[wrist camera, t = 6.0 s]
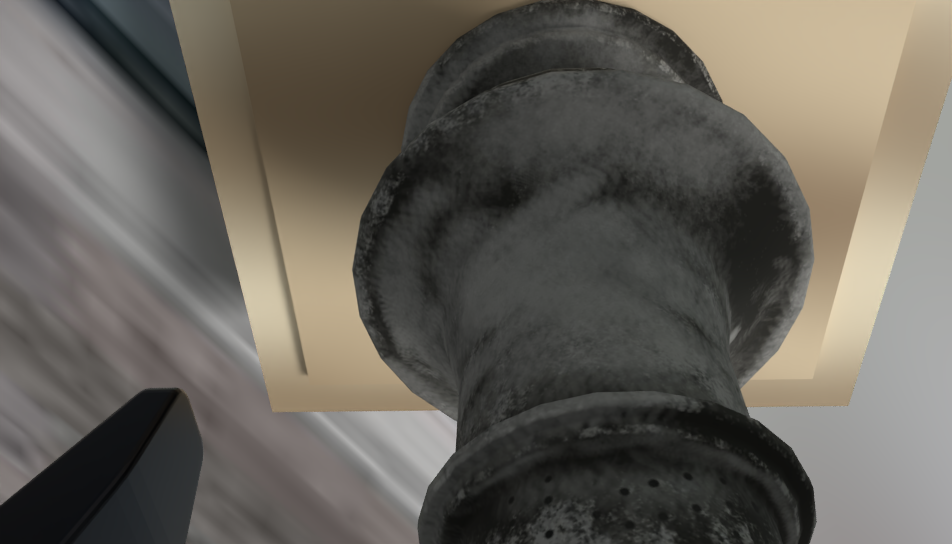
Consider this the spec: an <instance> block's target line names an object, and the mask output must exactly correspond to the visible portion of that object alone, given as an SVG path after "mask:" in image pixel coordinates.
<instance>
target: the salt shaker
mask: <svg viewBox="0 0 952 544" xmlns="http://www.w3.org/2000/svg"><path fill="white" fill-rule="evenodd" d="M813 264H814V249H813V238H812V227H811V217H810V208H809V206H808V204H807V202H806V200H805V198H804V196H803V193H802V191H801V189H800V187H799V185H798V183H797V181H796V178H795V176H794V174H793V172H792V170H791V168H790V166H789V164H788V161H787V160H786V158H785V156H784V155H783V154H782V153H781V152H780V151H779V150H778V149H777V148H776V147H775V146H774V145H773V144H772V143H771V142H770V141H769V140H768V139H767V138H766V137H765V136H764V135H763V134H762V133H761V132H760V131H759V129H758V128H757V127H756V126H755V125H754V124H753V123H752V122H751V121H750V120H749V119H748V118H747V117H746V116H745V115H744V114H742V113H740V112H738V111H736V110H734V109H733V108H731V107H729V106H727V105H725V104H723V101H722V99H721V97H720V95H719V93H718V91H717V89H716V87H715V85H714V83H713V81H712V79H711V77H710V75H709V72H708V70H707V68H706V66H705V64H704V63H703V61H702V60H701V59H700V58H699V57H698V56H697V55H696V54H695V53H694V52H693V51H692V50H691V49H690V47H689V46H688V45H687V44H686V43H685V42H684V41H683V40H682V39H681V38H680V37H679V36H678V35H677V34H676V33H675V32H674V31H673V30H671V29H669V28H667V27H666V26H664V25H662V24H660V23H658V22H657V21H655V20H653V19H651V18H650V17H648V16H646V15H644V14H642V13H641V12H639V11H637V10H635V9H632V8H628V7H623V6H619V5H615V4H610V3H606V2H602V1H598V0H541V1H538V2H535V3H531V4H528V5H525V6H522V7H518V8H515V9H512V10H508V11H505V12H502V13H499V14H496V15H494V16H493V17H491V18H489V19H488V20H486V21H485V22H483V23H481V24H480V25H478V26H477V27H475V28H473V29H472V30H470V31H469V32H467V33H465V34H464V35H462V36H460V37H459V38H457V39H456V40H455V42H454V43H453V44H452V45H451V46H450V47H449V48H448V49H447V50H446V51H445V52H444V53H443V54H442V56H441V57H440V58H439V59H438V60H437V61H436V62H435V63H434V64H433V65H432V66H431V67H430V68H429V70H428V71H427V73H426V75H425V77H424V79H423V81H422V83H421V84H420V86H419V88H418V90H417V92H416V94H415V96H414V98H413V100H412V102H411V104H410V106H409V109H408V114H407V120H406V125H405V130H404V136H403V141H402V146H401V153H400V154H399V155H398V156H397V157H396V158H395V159H394V160H393V161H392V162H391V163H390V164H389V165H388V166H387V167H386V169H385V171H384V173H383V175H382V177H381V179H380V181H379V183H378V185H377V187H376V188H375V190H374V192H373V194H372V196H371V198H370V200H369V202H368V204H367V206H366V208H365V210H364V212H363V214H362V216H361V219H360V224H359V231H358V237H357V243H356V249H355V255H354V261H353V267H352V272H353V279H354V285H355V291H356V297H357V304H358V310H359V316H360V318H361V320H362V322H363V324H364V326H365V328H366V330H367V332H368V334H369V336H370V338H371V340H372V342H373V344H374V346H375V348H376V350H377V352H378V354H379V356H380V358H381V359H382V360H383V361H384V362H385V363H386V364H387V366H388V367H389V368H390V369H391V370H392V371H393V372H394V373H395V374H396V375H397V376H398V377H399V379H400V380H401V381H402V382H403V383H404V384H405V385H406V386H407V387H408V388H409V389H410V390H411V392H412V393H414V394H416V395H417V396H419V397H420V398H422V399H423V400H425V401H426V402H428V403H429V404H431V405H432V406H434V407H435V408H437V409H438V410H440V411H441V412H443V413H444V414H446V415H447V416H449V417H451V418H452V419H454V420H456V421H457V438H456V452H455V453H454V454H453V455H452V456H451V457H450V459H449V460H448V461H447V463H446V464H445V465H444V467H443V468H442V469H441V470H440V472H439V473H438V474H437V476H436V477H435V478H434V480H433V481H432V482H431V484H430V485H429V486H428V489H427V493H426V496H425V499H424V503H423V506H422V509H421V513H420V516H419V519H418V535H419V543H420V544H809V543H810V540H811V537H812V534H813V531H814V528H815V525H816V522H817V521H816V511H815V501H814V491H813V486H812V484H811V481H810V479H809V477H808V476H807V474H806V472H805V470H804V469H803V467H802V465H801V464H800V462H799V460H798V459H797V457H796V455H795V453H794V452H793V450H792V448H791V447H790V446H788V445H787V444H786V443H785V442H783V441H782V440H781V439H779V437H777V436H776V435H775V434H773V433H772V432H771V431H770V430H769V429H767V428H766V427H765V426H764V425H763V424H761V423H760V422H759V421H757V420H755V419H753V418H750V416H749V413H748V410H747V407H746V405H745V402H744V399H743V396H742V393H741V390H740V389H741V388H742V387H743V386H744V385H745V384H746V383H747V382H748V381H749V380H750V379H751V378H752V377H753V376H754V375H755V374H756V373H757V372H758V371H759V370H760V369H761V368H762V367H763V366H764V365H765V364H766V363H767V362H768V361H769V359H770V358H771V357H772V356H773V355H774V354H775V353H776V352H777V351H778V350H779V348H780V346H781V345H782V343H783V341H784V340H785V338H786V336H787V334H788V333H789V331H790V329H791V328H792V326H793V324H794V322H795V321H796V319H797V317H798V315H799V314H800V312H801V310H802V309H803V306H804V301H805V297H806V293H807V289H808V285H809V280H810V276H811V272H812V268H813Z"/></svg>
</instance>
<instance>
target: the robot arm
mask: <svg viewBox="0 0 952 544" xmlns="http://www.w3.org/2000/svg"><path fill="white" fill-rule="evenodd" d="M202 461H203V442H202V438H201V435H200V432H199V429H198V426H197V422H196V419H195V416H194V413H193V410H192V407H191V404H190V401H189V398H188V396H187V394H186V393H185V392H184V391H183V390H182V389H179V388H148V389H144V390H142V391H141V392H139V393H138V394H136V395H135V396H134V397H133V398H132V399H130V400H129V401H128V402H127V403H125V404H124V405H123V406H122V407H121V408H119V409H118V410H117V411H116V412H114V413H113V414H112V415H111V416H109V417H108V418H107V419H106V420H105V421H103V422H102V423H101V424H100V425H98V426H97V427H96V428H95V429H94V430H92V431H91V432H90V433H89V434H87V435H86V436H85V437H84V438H83V439H81V440H80V441H79V442H78V443H76V444H75V445H74V446H73V447H71V448H70V449H69V450H68V451H67V452H65V453H64V454H63V455H62V456H60V457H59V458H58V459H57V460H56V461H54V462H53V463H52V464H51V465H49V466H48V467H47V468H46V469H45V470H43V471H42V472H41V473H40V474H38V475H37V476H36V477H35V478H33V479H32V480H31V481H30V482H29V483H27V484H26V485H25V486H24V487H22V488H21V489H20V490H19V491H18V492H16V493H15V494H14V495H13V496H11V497H10V498H9V499H8V500H7V501H5V502H4V503H3V504H2V505H0V544H186V539H187V534H188V529H189V524H190V519H191V515H192V510H193V505H194V500H195V495H196V490H197V486H198V481H199V476H200V471H201V466H202Z"/></svg>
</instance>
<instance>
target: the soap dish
mask: <svg viewBox="0 0 952 544" xmlns="http://www.w3.org/2000/svg"><path fill="white" fill-rule="evenodd" d="M538 1H541V0H169V2H170V6H171V10H172V14H173V18H174V22H175V26H176V30H177V34H178V38H179V42H180V46H181V50H182V54H183V58H184V62H185V66H186V70H187V73H188V77H189V81H190V85H191V89H192V93H193V97H194V101H195V105H196V109H197V113H198V117H199V121H200V125H201V129H202V133H203V137H204V141H205V145H206V149H207V153H208V157H209V161H210V165H211V169H212V173H213V177H214V181H215V185H216V189H217V193H218V197H219V201H220V205H221V209H222V213H223V217H224V221H225V225H226V229H227V233H228V237H229V241H230V245H231V249H232V253H233V257H234V261H235V265H236V269H237V272H238V276H239V280H240V284H241V288H242V292H243V296H244V300H245V304H246V308H247V312H248V316H249V320H250V324H251V328H252V332H253V336H254V340H255V344H256V348H257V352H258V356H259V360H260V364H261V368H262V372H263V376H264V380H265V384H266V388H267V392H268V396H269V400H270V404H271V408H272V412H328V411H420V410H438V409H437V408H435V407H434V406H432V405H431V404H429V403H428V402H426V401H425V400H423V399H422V398H420V397H419V396H417V395H416V394H414V393H412V392H411V390H410V389H409V388H408V387H407V386H406V385H405V384H404V383H403V382H402V381H401V380H400V379H399V377H398V376H397V375H396V374H395V373H394V372H393V371H392V370H391V369H390V368H389V367H388V366H387V364H386V363H385V362H384V361H383V360H382V359H381V358H380V356H379V354H378V352H377V350H376V348H375V346H374V344H373V342H372V340H371V338H370V336H369V334H368V332H367V330H366V328H365V326H364V324H363V322H362V320H361V318H360V316H359V310H358V304H357V297H356V291H355V285H354V279H353V272H352V267H353V261H354V255H355V249H356V243H357V237H358V231H359V224H360V219H361V216H362V214H363V212H364V210H365V208H366V206H367V204H368V202H369V200H370V198H371V196H372V194H373V192H374V190H375V188H376V187H377V185H378V183H379V181H380V179H381V177H382V175H383V173H384V171H385V169H386V167H387V166H388V165H389V164H390V163H391V162H392V161H393V160H394V159H395V158H396V157H397V156H398V155H399V154H400V153H401V146H402V141H403V136H404V130H405V125H406V120H407V114H408V109H409V106H410V104H411V102H412V100H413V98H414V96H415V94H416V92H417V90H418V88H419V86H420V84H421V83H422V81H423V79H424V77H425V75H426V73H427V71H428V70H429V68H430V67H431V66H432V65H433V64H434V63H435V62H436V61H437V60H438V59H439V58H440V57H441V56H442V54H443V53H444V52H445V51H446V50H447V49H448V48H449V47H450V46H451V45H452V44H453V43H454V42H455V40H456V39H457V38H459V37H460V36H462V35H464V34H465V33H467V32H469V31H470V30H472V29H473V28H475V27H477V26H478V25H480V24H481V23H483V22H485V21H486V20H488V19H489V18H491V17H493V16H494V15H496V14H499V13H502V12H505V11H508V10H512V9H515V8H518V7H522V6H525V5H528V4H531V3H535V2H538ZM598 1H602V2H606V3H610V4H615V5H619V6H623V7H628V8H632V9H635V10H637V11H639V12H641V13H642V14H644V15H646V16H648V17H650V18H651V19H653V20H655V21H657V22H658V23H660V24H662V25H664V26H666V27H667V28H669V29H671V30H673V31H674V32H675V33H676V34H677V35H678V36H679V37H680V38H681V39H682V40H683V41H684V42H685V43H686V44H687V45H688V46H689V47H690V49H691V50H692V51H693V52H694V53H695V54H696V55H697V56H698V57H699V58H700V59H701V60H702V61H703V63H704V64H705V66H706V68H707V70H708V72H709V75H710V77H711V79H712V81H713V83H714V85H715V87H716V89H717V91H718V93H719V95H720V97H721V99H722V101H723V104H725V105H727V106H729V107H731V108H733V109H734V110H736V111H738V112H740V113H742V114H744V115H745V116H746V117H747V118H748V119H749V120H750V121H751V122H752V123H753V124H754V125H755V126H756V127H757V128H758V129H759V131H760V132H761V133H762V134H763V135H764V136H765V137H766V138H767V139H768V140H769V141H770V142H771V143H772V144H773V145H774V146H775V147H776V148H777V149H778V150H779V151H780V152H781V153H782V154H783V155H784V156H785V158H786V160H787V161H788V164H789V166H790V168H791V170H792V172H793V174H794V176H795V178H796V181H797V183H798V185H799V187H800V189H801V191H802V193H803V196H804V198H805V200H806V202H807V204H808V206H809V208H810V217H811V227H812V238H813V249H814V264H813V268H812V272H811V276H810V280H809V285H808V289H807V293H806V297H805V301H804V306H803V309H802V310H801V312H800V314H799V315H798V317H797V319H796V321H795V322H794V324H793V326H792V328H791V329H790V331H789V333H788V334H787V336H786V338H785V340H784V341H783V343H782V345H781V346H780V348H779V350H778V351H777V352H776V353H775V354H774V355H773V356H772V357H771V358H770V359H769V361H768V362H767V363H766V364H765V365H764V366H763V367H762V368H761V369H760V370H759V371H758V372H757V373H756V374H755V375H754V376H753V377H752V378H751V379H750V380H749V381H748V382H747V383H746V384H745V385H744V386H743V387H742V388H741V389H740V390H741V393H742V396H743V399H744V402H745V405H746V407H782V406H783V407H786V406H787V407H789V406H848V405H849V402H850V399H851V395H852V392H853V389H854V386H855V383H856V380H857V376H858V373H859V370H860V367H861V364H862V361H863V358H864V354H865V351H866V348H867V345H868V342H869V339H870V335H871V332H872V329H873V326H874V323H875V320H876V316H877V313H878V310H879V307H880V304H881V301H882V297H883V294H884V291H885V288H886V284H887V281H888V278H889V275H890V272H891V269H892V266H893V262H894V259H895V256H896V253H897V250H898V247H899V243H900V240H901V237H902V234H903V231H904V228H905V224H906V221H907V218H908V215H909V211H910V208H911V206H912V202H913V199H914V196H915V193H916V190H917V187H918V183H919V180H920V177H921V174H922V170H923V167H924V164H925V161H926V158H927V155H928V152H929V148H930V145H931V142H932V139H933V135H934V132H935V129H936V126H937V123H938V120H939V117H940V114H941V110H942V107H943V104H944V101H945V97H946V95H947V91H948V88H949V85H950V82H951V78H952V0H598Z"/></svg>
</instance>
